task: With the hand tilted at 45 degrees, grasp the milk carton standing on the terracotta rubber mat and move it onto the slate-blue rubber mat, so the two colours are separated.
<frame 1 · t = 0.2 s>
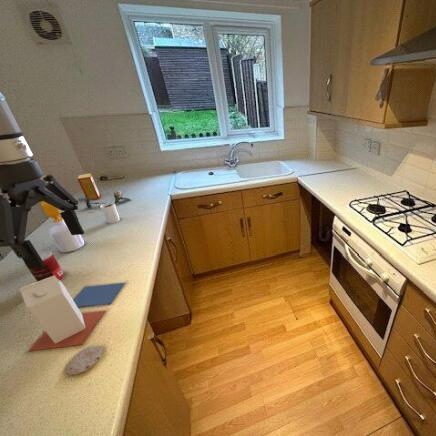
hand: (59, 248, 58), 31 cm above the worktop, tool pointing down, fingers open, 13 cm apart
white cup: (114, 221, 135), on the worktop
slate-blue mat: (97, 295, 85), on the worktop
canned food: (52, 279, 94), on the worktop
milk carton: (70, 329, 73), resting on terracotta mat
flatbread: (86, 360, 64), on the worktop
baking soda box: (94, 197, 167), on the worktop
terracotta mat: (70, 329, 73), on the worktop
soap bottle: (73, 247, 113), on the worktop
artificial flower: (110, 204, 157), on the worktop
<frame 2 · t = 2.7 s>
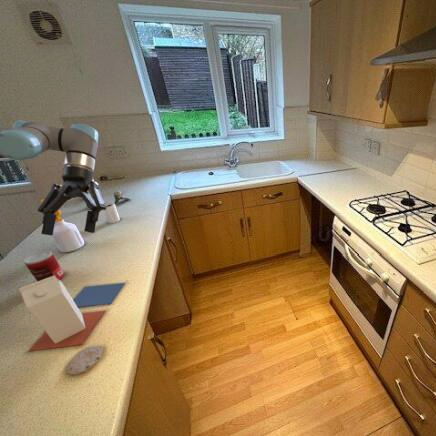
hand: (68, 233, 74), 26 cm above the worktop, tool tilted 40°, fingers open, 13 cm apart
nothing on the worktop moved.
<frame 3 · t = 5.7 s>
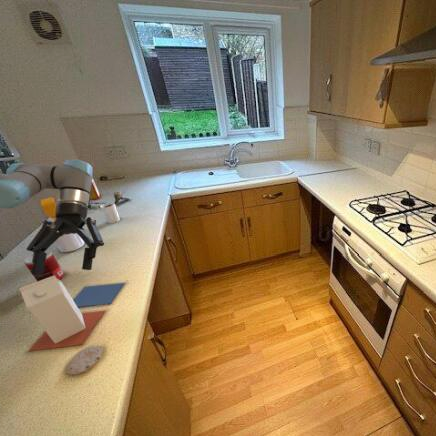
hand: (62, 272, 72), 17 cm above the worktop, tool tilted 45°, fingers open, 13 cm apart
nothing on the worktop moved.
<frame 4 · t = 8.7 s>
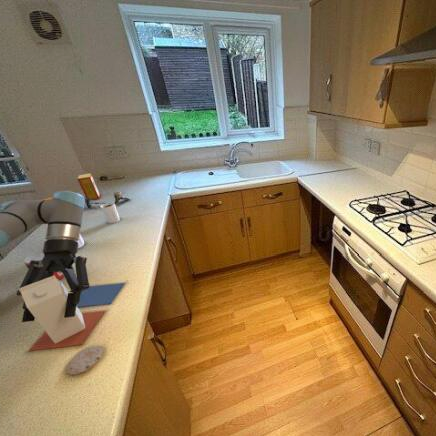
hand: (49, 319, 66), 8 cm above the worktop, tool tilted 45°, fingers closed on milk carton, 10 cm apart
milk carton: (70, 329, 73), resting on terracotta mat, touching gripper
everything else where it was.
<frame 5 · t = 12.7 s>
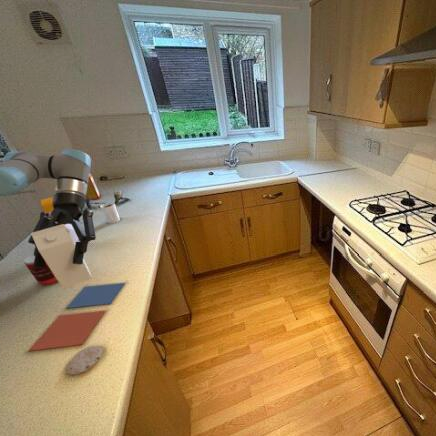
hand: (58, 265, 71), 19 cm above the worktop, tool tilted 45°, fingers closed on milk carton, 10 cm apart
milk carton: (77, 279, 77), point 11 cm above the worktop, touching gripper
everything else where it was.
when the fingers open (8 cm above the worktop, at t = 16.5 s): milk carton stays where it is, resting on slate-blue mat.
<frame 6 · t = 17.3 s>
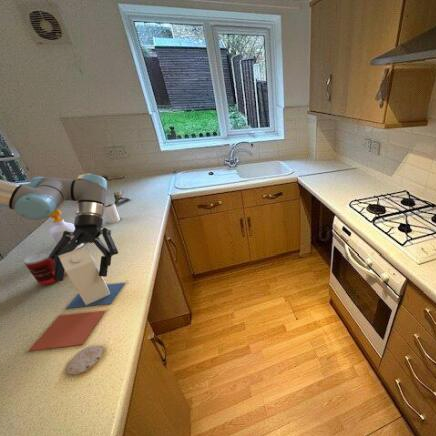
hand: (80, 278, 79), 10 cm above the worktop, tool tilted 45°, fingers open, 13 cm apart
milk carton: (97, 295, 85), resting on slate-blue mat
everything else where it was.
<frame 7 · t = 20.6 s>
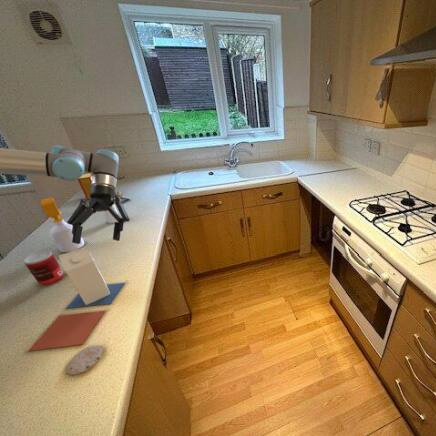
hand: (96, 241, 87), 16 cm above the worktop, tool tilted 45°, fingers open, 13 cm apart
nothing on the worktop moved.
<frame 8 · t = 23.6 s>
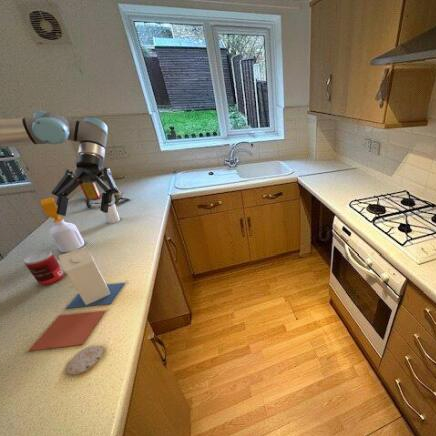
hand: (82, 213, 82), 28 cm above the worktop, tool tilted 45°, fingers open, 13 cm apart
nothing on the worktop moved.
at the end: milk carton inside the target area (0.0 cm from its centre), resting on slate-blue mat; milk carton tilted 0°; the gripper is holding nothing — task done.
